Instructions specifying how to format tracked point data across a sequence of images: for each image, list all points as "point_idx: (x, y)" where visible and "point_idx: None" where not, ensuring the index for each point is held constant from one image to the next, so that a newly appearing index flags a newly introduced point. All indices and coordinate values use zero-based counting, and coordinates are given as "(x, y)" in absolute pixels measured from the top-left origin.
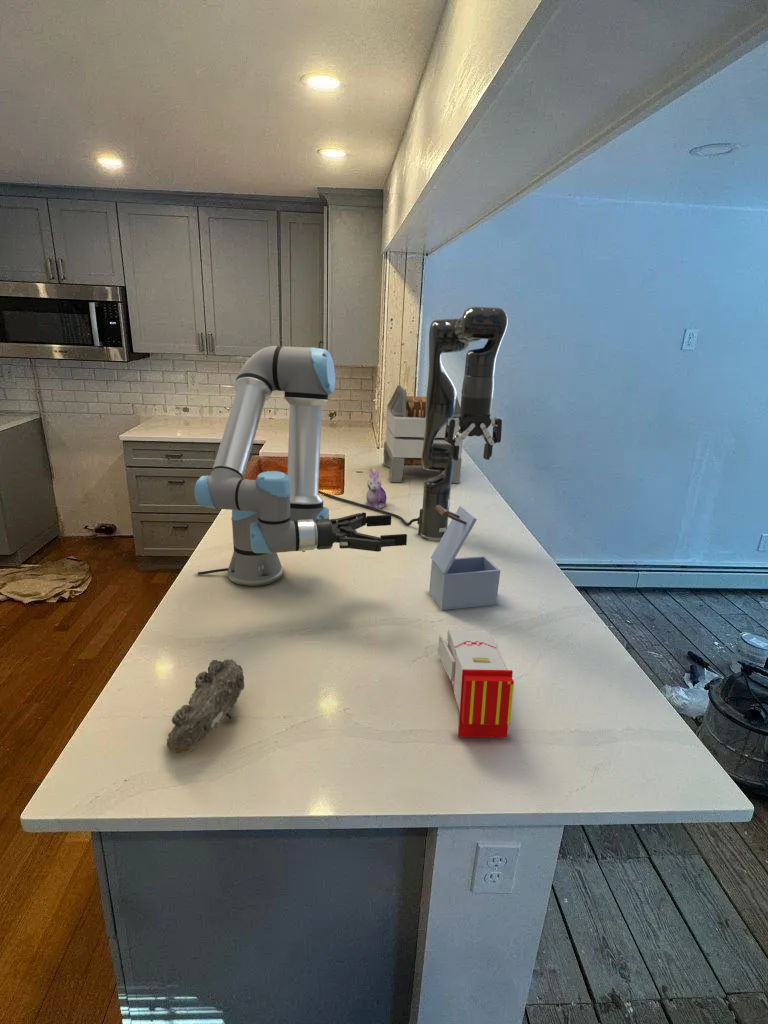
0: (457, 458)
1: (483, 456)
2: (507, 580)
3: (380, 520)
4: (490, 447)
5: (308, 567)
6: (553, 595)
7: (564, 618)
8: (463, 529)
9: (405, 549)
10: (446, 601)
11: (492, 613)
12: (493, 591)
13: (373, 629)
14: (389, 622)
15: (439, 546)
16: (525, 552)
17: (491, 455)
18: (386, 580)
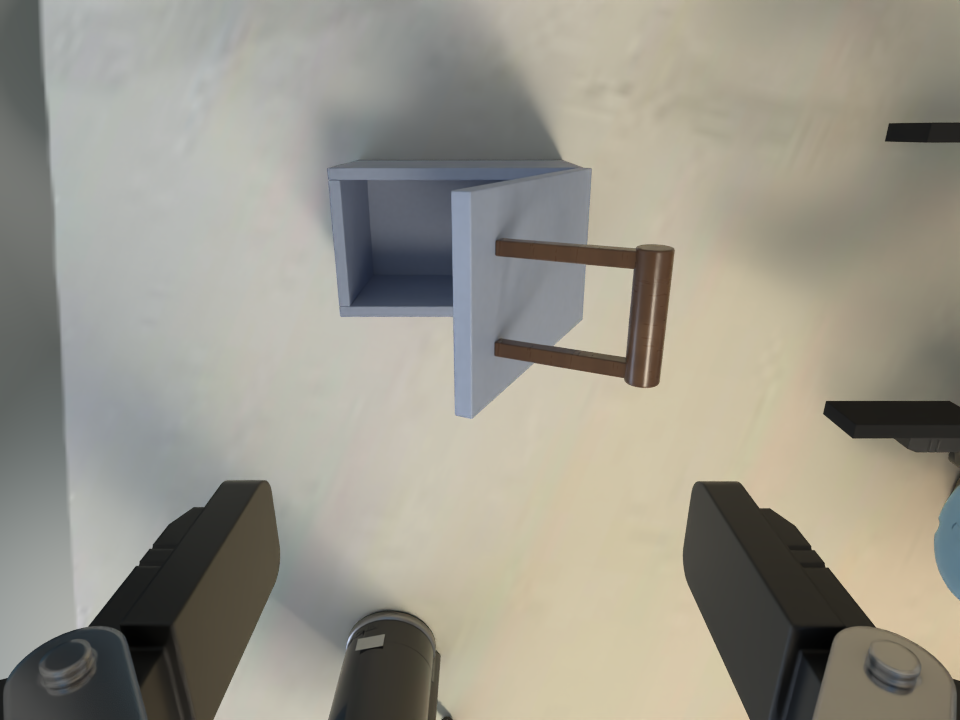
0: (718, 489)
1: (276, 576)
2: (253, 317)
3: (901, 413)
4: (143, 596)
5: (860, 508)
6: (123, 182)
7: (144, 8)
8: (512, 227)
9: (517, 574)
10: (550, 161)
11: (396, 101)
12: (365, 162)
13: (834, 81)
14: (765, 115)
15: (563, 318)
16: (114, 496)
17: (172, 522)
18: (659, 389)
